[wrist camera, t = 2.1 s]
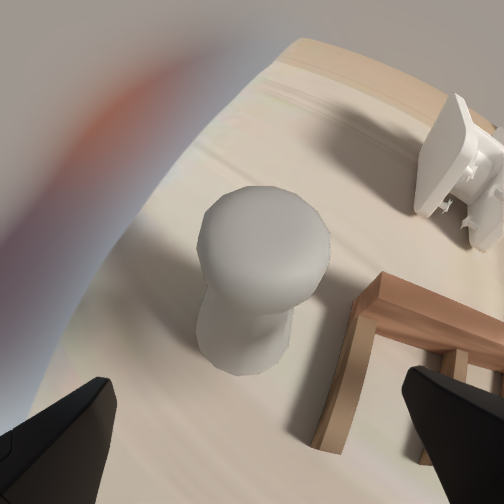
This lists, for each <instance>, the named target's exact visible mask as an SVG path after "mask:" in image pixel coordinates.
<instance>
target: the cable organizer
mask: <svg viewBox="0 0 504 504" xmlns="http://www.w3.org/2000/svg"><path fill="white" fill-rule="evenodd" d="M448 193H451V194H452V195H454V196H455V197H457V198H458V199H460V200H461V201H463V202H464V203H466V204H467V211H468V216H467V217H466V219H464V220H463V221H462V223H463V225H462V227H464V226H465V227H466V226H468V230H469V242H470V245H471V246H472V247H474V248H475V249H477V250H478V251H480V252H481V253H486V252H487V251H488V250H490V249H491V248H492V247H493V246H494V245H495V244H496V243H497V242H498V241H499V240H500V239H501V238H502V237H503V236H504V128H503V127H498V128H497V129H496V130H495V132H494V133H493V135H492V136H491V135H489V134H488V133H487V132H485V131H484V130H482V129H481V128H480V127H478V126H477V125H475V124H474V123H473V122H472V119H471V116H470V113H469V111H468V108H467V106H466V103H465V100H464V99H463V98H462V97H460V96H459V95H457V94H455V93H454V92H453V93H451V94H450V95H449V96H448V98H447V100H446V102H445V104H444V106H443V108H442V110H441V112H440V114H439V116H438V117H437V119H436V121H435V123H434V125H433V127H432V129H431V131H430V132H429V134H428V136H427V138H426V140H425V141H424V143H423V145H422V148H421V150H420V153H419V158H418V171H417V182H416V191H415V200H414V211H415V212H416V213H417V214H419V215H421V216H423V217H424V218H428V217H430V216H431V215H432V213H433V212H434V211H435V210H436V208H437V207H438V206H439V207H440V208H442V209H443V210H444V211H443V213H444V212H445V211H446V212H447V211H448V208H449V206H450V205H451V203H452V202H453V201H451V202H450V200H449V201H448V203H446V202H444V201H443V199H444V198H445V197H446V195H447V194H448ZM450 199H451V198H450ZM443 213H442V214H443ZM462 227H461V228H462Z"/></svg>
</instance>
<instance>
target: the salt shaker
mask: <svg viewBox="0 0 504 504" xmlns="http://www.w3.org/2000/svg"><path fill="white" fill-rule="evenodd" d="M196 249H197V253H198V257H199V261H200V264H201V268H202V272H203V276H204V280H205V283H206V284H207V285H208V286H207V289H206V292H205V295H204V298H203V301H202V304H201V307H200V309H199V313H198V318H197V324H196V329H195V333H196V337H197V341H198V345H199V348H200V352H201V353H202V354H203V355H204V356H205V357H206V358H207V359H208V360H209V361H210V362H211V363H212V364H213V365H214V366H215V367H216V368H218V369H220V370H223V371H225V372H228V373H230V374H232V375H235V376H243V375H254V374H260V373H262V372H263V371H265V370H267V369H269V368H270V367H272V366H274V365H276V364H277V363H278V362H279V360H280V359H281V357H282V356H283V354H284V352H285V351H286V349H287V348H288V346H289V339H290V331H291V323H292V315H293V310H294V307H295V306H297V305H299V304H300V303H302V302H304V301H306V300H307V299H309V297H310V296H311V295H312V294H313V293H314V291H315V289H316V288H317V286H318V284H319V282H320V281H321V279H322V277H323V275H324V273H325V272H326V270H327V267H328V263H329V260H330V232H329V231H328V229H327V227H326V225H325V223H324V222H323V220H322V218H321V216H320V214H319V213H318V211H317V210H315V209H314V208H313V207H312V206H311V205H309V204H308V203H307V202H306V201H304V200H303V199H302V198H301V197H299V196H298V195H297V194H295V193H292V192H289V191H286V190H283V189H280V188H277V187H274V186H246V187H243V188H241V189H238V190H236V191H233V192H230V193H228V194H225V195H223V196H222V197H221V198H220V199H218V200H217V201H216V202H215V203H214V204H213V205H212V206H211V207H210V208H209V209H208V210H207V211H206V212H205V214H204V218H203V222H202V226H201V229H200V233H199V237H198V242H197V247H196Z"/></svg>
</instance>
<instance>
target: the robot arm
mask: <svg viewBox="0 0 504 504" xmlns="http://www.w3.org/2000/svg"><path fill="white" fill-rule="evenodd" d="M402 395H403V398H404V400H405V403H406V405H407V408H408V411H409V413H410V416H411V419H412V421H413V424H414V427H415V429H416V431H417V433H418V435H419V437H420V439H421V442H422V444H423V446H424V448H425V450H426V452H427V454H428V456H429V458H430V460H431V462H432V465H433V467H434V469H435V471H436V473H437V475H438V478H439V480H440V482H441V484H442V487H443V489H444V491H445V493H446V496H447V498H448V500H449V503H450V504H504V398H503V397H500V396H498V395H495V394H492V393H490V392H487V391H484V390H482V389H479V388H476V387H474V386H471V385H469V384H466V383H464V382H461V381H458V380H456V379H453V378H451V377H448V376H446V375H443V374H441V373H438V372H436V371H433V370H431V369H429V368H426V367H424V366H420V365H419V366H414V367H411V368H410V369H409V370H408V372H407V374H406V377H405V380H404V383H403V385H402ZM116 408H117V399H116V396H115V392H114V389H113V385H112V382H111V380H110V379H109V378H104V377H95V378H94V379H92V380H91V381H89V382H87V383H86V384H84V385H83V386H81V387H79V388H78V389H76V390H75V391H73V392H72V393H70V394H68V395H67V396H65V397H64V398H62V399H60V400H59V401H57V402H56V403H54V404H52V405H51V406H49V407H48V408H46V409H44V410H43V411H41V412H39V413H38V414H36V415H35V416H33V417H31V418H30V419H28V420H26V421H25V422H23V423H21V424H20V425H18V426H16V427H15V428H13V430H10V431H8V432H7V433H5V434H3V435H2V436H0V504H95V502H96V497H97V493H98V489H99V486H100V482H101V478H102V474H103V470H104V467H105V463H106V460H107V456H108V452H109V448H110V443H111V437H112V431H113V425H114V419H115V414H116Z"/></svg>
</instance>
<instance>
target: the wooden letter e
mask: <svg viewBox="0 0 504 504" xmlns="http://www.w3.org/2000/svg"><path fill="white" fill-rule="evenodd" d="M375 334H378V335H381V336H384V337H387V338H390V339H393V340H396V341H399V342H402V343H405V344H408V345H411V346H414V347H418V348H421V349H424V350H427V351H430V352H433V353H436V354H440V355H442V361H441V369H440V373H441V374H443V375H446V376H448V377H451V378H453V379H456V380H458V381H461V382H464V383H465V382H466V374H467V364H468V363H469V364H473V365H476V366H479V367H483V368H486V369H490V370H493V371H497V372H501V373H503V379H502V389H501V397H503V398H504V322H502V321H499V320H497V319H495V318H493V317H490V316H488V315H486V314H484V313H481V312H479V311H477V310H475V309H472V308H470V307H468V306H465V305H463V304H461V303H458V302H456V301H454V300H451V299H449V298H447V297H444V296H442V295H439V294H437V293H435V292H432V291H430V290H427V289H425V288H423V287H420V286H418V285H415V284H413V283H410V282H408V281H406V280H403V279H401V278H398V277H396V276H393V275H391V274H388V273H386V272H383V271H382V272H381V273H380V274H379V275H378V276H377V277H376V279H375V280H374V281H373V282H372V283H371V284H370V285H369V286H368V287H367V288H366V289H365V290H364V291H363V292H362V293H361V294H360V295H359V296H358V297H357V298H356V299H355V300H354V301H353V305H352V310H351V314H350V318H349V322H348V326H347V331H346V334H345V338H344V342H343V346H342V350H341V353H340V357H339V361H338V364H337V368H336V371H335V375H334V378H333V381H332V384H331V388H330V391H329V394H328V397H327V400H326V403H325V406H324V409H323V412H322V415H321V418H320V421H319V424H318V427H317V429H316V432H315V435H314V438H313V440H312V443H311V446H310V447H311V448H314V449H317V450H321V451H325V452H330V453H334V454H339V455H341V453H342V450H343V447H344V445H345V442H346V439H347V436H348V433H349V430H350V427H351V424H352V421H353V417H354V414H355V411H356V407H357V404H358V401H359V397H360V394H361V390H362V386H363V382H364V379H365V375H366V371H367V367H368V362H369V358H370V354H371V349H372V345H373V340H374V335H375ZM419 465H428V466H433V465H432V462H431V460H430V458H429V456H428V454H427V452H426V450H425V448H424V449H423V453H422V456H421V459H420V463H419Z"/></svg>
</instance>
